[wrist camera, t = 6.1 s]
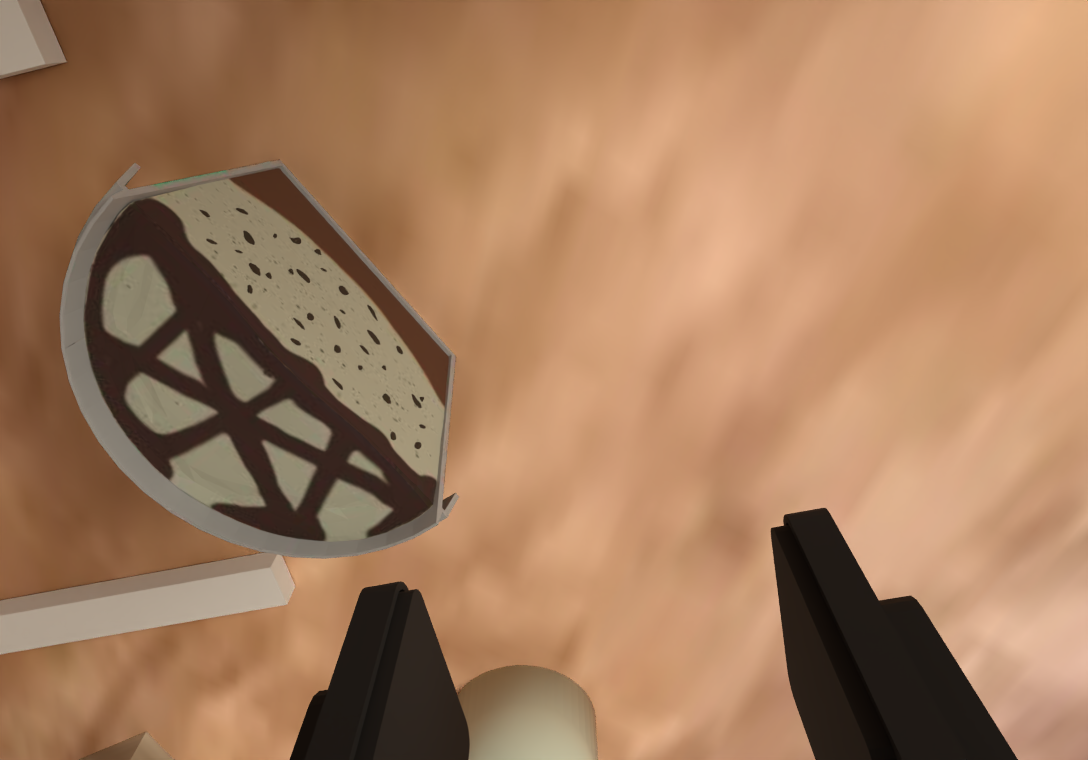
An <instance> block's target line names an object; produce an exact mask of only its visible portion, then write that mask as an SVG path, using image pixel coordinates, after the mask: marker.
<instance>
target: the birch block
mask: <svg viewBox="0 0 1088 760" xmlns="http://www.w3.org/2000/svg"><path fill="white" fill-rule="evenodd" d="M79 760H174V759H173V758H172V757H171V756H170V755H169V754H168V753H167V752H166V751H165V750H164V749H163V748H162V747H161V746H160V745H159V744H158V743H157V742H156V741H155V739H154V738H153V737H152V736H151V735H150V734H149V733H148V732H147V731H146V732H144V733H141V734H139V735H137V736H134V737H132V738H129V739H127V740H125V741H122V742H120V743H117V744H115V745H113V746H110V747H108V748H105V749H103V750H101V751H98V752H96V753H93V754H91V755H89V756H86V757H84V758H81V759H79Z"/></svg>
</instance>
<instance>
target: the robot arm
mask: <svg viewBox="0 0 1088 760" xmlns="http://www.w3.org/2000/svg"><path fill="white" fill-rule="evenodd" d="M783 522H784V526H780V527H774V528H771V539H772V547H773V556H774V564H775V572H776V580H777V588H778V596H779V605H780V613H781V621H782V629H783V637H784V645H785V654H786V662H787V670H788V676H789V681H790V686H791V690H792V693H793V697H794V700H795V703H796V706H797V708H798V711H799V714H800V717H801V720H802V723H803V725H804V728H805V731H806V734H807V737H808V739H809V742H810V745H811V748H812V751H813V753H814V756H815V759H816V760H1018V759H1017V757H1016V756H1015V754H1014V753H1013V751H1012V750H1011V748H1010V746H1009V745H1008V743H1007V742H1006V740H1005V738H1004V737H1003V735H1002V734H1001V732H1000V730H999V729H998V727H997V726H996V724H995V722H994V721H993V719H992V718H991V716H990V714H989V713H988V711H987V710H986V708H985V706H984V705H983V703H982V702H981V700H980V699H979V697H978V695H977V694H976V692H975V691H974V689H973V687H972V686H971V684H970V683H969V681H968V679H967V678H966V676H965V675H964V673H963V671H962V670H961V668H960V667H959V665H958V663H957V662H956V660H955V659H954V657H953V656H952V654H951V652H950V651H949V649H948V648H947V646H946V644H945V643H944V641H943V640H942V638H941V636H940V635H939V633H938V632H937V630H936V628H935V627H934V625H933V624H932V622H931V620H930V619H929V617H928V616H927V614H926V612H925V611H924V609H923V608H922V606H921V605H920V604H919V602H918V601H917V600H916V599H915V598H913V597H912V596H905V597H899V598H893V599H887V600H880V601H879V600H878V599H877V597H876V595H875V593H874V591H873V590H872V588H871V586H870V584H869V582H868V581H867V579H866V577H865V575H864V574H863V572H862V570H861V568H860V566H859V565H858V563H857V561H856V559H855V557H854V556H853V554H852V552H851V550H850V549H849V547H848V545H847V543H846V541H845V540H844V538H843V536H842V534H841V532H840V531H839V529H838V527H837V525H836V524H835V522H834V520H833V518H832V516H831V515H830V513H829V511H828V510H827V509H826V508H820V509H815V510H809V511H803V512H797V513H792V514H786V515H784V520H783ZM469 750H470V738H469V730H468V725H467V721H466V718H465V715H464V712H463V710H462V707H461V704H460V701H459V698H458V696H457V693H456V690H455V687H454V684H453V682H452V679H451V676H450V673H449V670H448V667H447V665H446V662H445V659H444V656H443V653H442V651H441V648H440V645H439V642H438V639H437V637H436V634H435V631H434V628H433V625H432V623H431V620H430V617H429V614H428V611H427V609H426V606H425V603H424V600H423V597H422V595H421V593H420V591H419V590H417V589H415V590H408V588H407V586H406V585H405V584H404V582H395V583H389V584H383V585H378V586H372V587H366V588H364V589H363V590H362V591H361V593H360V595H359V598H358V601H357V604H356V607H355V610H354V613H353V616H352V619H351V622H350V625H349V628H348V631H347V634H346V637H345V640H344V643H343V646H342V649H341V652H340V655H339V658H338V661H337V664H336V667H335V670H334V673H333V676H332V679H331V682H330V685H329V688H328V690H323V691H319V692H318V693H317V694H316V695H314V696H313V698H312V700H311V702H310V704H309V707H308V709H307V712H306V715H305V718H304V721H303V724H302V726H301V729H300V732H299V735H298V738H297V740H296V743H295V746H294V749H293V752H292V755H291V757H290V760H468V759H469Z"/></svg>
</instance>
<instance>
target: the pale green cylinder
mask: <svg viewBox="0 0 1088 760" xmlns="http://www.w3.org/2000/svg"><path fill="white" fill-rule="evenodd" d="M457 696H458V698H459V701H460V704H461V707H462V710H463V712H464V715H465V718H466V721H467V725H468V730H469V738H470V750H469V759H468V760H598V747H597V731H596V716H595V710H594V707H593V704H592V702H591V700H590V698H589V696H588V695H587V694H586V692H585V691H584V690H583V689H582V688H581V687H580V686H579V685H578V684H577V683H575V682H574V681H573V680H571V679H570V678H568V677H566V676H565V675H563V674H560V673H558V672H556V671H553V670H550V669H546V668H542V667H537V666H527V665H515V666H506V667H501V668H497V669H494V670H491V671H488V672H486V673H483V674H481V675H479V676H478V677H476V678H474V679H473V680H471V681H470V682H469V683H468V684H466V685H465V686H464V687H463V689H462V690H461V691H460V692H459V694H458V695H457Z"/></svg>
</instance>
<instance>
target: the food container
mask: <svg viewBox="0 0 1088 760" xmlns="http://www.w3.org/2000/svg"><path fill="white" fill-rule="evenodd" d="M140 168H141V167H140V166H139V165H137V164H136V163H134V164H133V165H132V166H131V167H130V168H129V169H128V170H127V171H126V172H125V173H124V174H123V175H122V176H121V177H120V178H119V179H118V181H117V182H116V183H115V184H114V185H113V186H112V187H111V189H110V190H109V191H108V192H107V193H106V194H105V196H104V197H103V198H102V199H101V200H100V202H99V203H98V204H97V205H96V206H95V208H94V210H93V211H92V213H91V215H90V217H89V218H88V220H87V222H86V224H85V226H84V227H83V229H82V231H81V233H80V234H79V236H78V239H77V242H76V245H75V248H74V251H73V254H72V257H71V260H70V263H69V266H68V269H67V273H66V277H65V280H64V284H63V292H62V300H61V308H60V331H61V349H62V353H63V357H64V362H65V366H66V370H67V375H68V379H69V382H70V385H71V388H72V390H73V393H74V395H75V398H76V400H77V403H78V405H79V408H80V410H81V412H82V414H83V416H84V418H85V419H86V421H87V423H88V424H89V426H90V428H91V430H92V431H93V433H94V435H95V436H96V438H97V440H98V442H99V443H100V444H101V445H102V447H103V448H104V449H105V451H106V452H107V453H108V454H109V456H110V457H111V458H112V459H113V461H114V462H115V463H116V465H117V466H118V467H119V468H120V469H121V470H122V471H123V472H124V473H125V474H126V475H127V476H128V477H129V478H130V479H131V480H132V481H133V482H134V483H135V484H136V485H137V486H138V487H139V488H140V489H141V490H142V491H143V492H144V493H146V494H147V495H148V496H150V497H151V498H152V499H153V500H155V501H156V502H157V503H159V504H160V505H161V506H163V507H164V508H165V509H167V510H168V511H169V512H171V513H172V514H174V515H176V516H177V517H179V518H181V519H183V520H184V521H186V522H188V523H189V524H191V525H193V526H195V527H196V528H198V529H200V530H202V531H204V532H207V533H209V534H211V535H214V536H216V537H218V538H221V539H223V540H225V541H228V542H230V543H233V544H237V545H240V546H243V547H247V548H250V549H253V550H257V551H260V552H265V553H271V554H277V555H283V556H289V557H300V558H337V557H348V556H357V555H362V554H366V553H370V552H375V551H379V550H383V549H387V548H390V547H392V546H395V545H398V544H400V543H403V542H405V541H408V540H411V539H413V538H415V537H417V536H419V535H421V534H423V533H424V532H426V531H428V530H430V529H431V528H433V527H435V526H437V525H438V524H439V522H440V521H442V520H444V519H445V518H447V517H448V515H449V514H450V512H451V510H452V508H453V506H454V505H455V503H456V501H457V499H458V498H459V496H458V495H457V494H456V493H454V494H453V495H451V496H449V497H447V498H446V499H444V500H443V491H444V481H445V470H446V459H447V448H448V437H449V427H450V416H451V405H452V394H453V383H454V373H455V362H456V356H455V355H454V354H453V353H452V352H451V350H450V349H449V348H448V347H447V346H446V345H445V344H444V343H443V342H442V340H441V339H440V338H439V337H438V336H437V335H436V334H435V333H434V331H433V330H432V329H431V328H430V327H429V326H428V325H427V324H426V323H425V321H424V320H423V319H422V318H421V317H420V316H419V315H418V314H417V312H416V311H415V310H414V309H413V308H412V307H411V306H410V305H409V304H408V302H407V301H406V300H405V299H404V298H403V297H402V296H401V295H400V293H399V292H398V291H397V290H396V289H395V288H394V287H393V286H392V285H391V283H390V282H389V281H388V280H387V279H386V278H385V277H384V276H383V274H382V273H381V272H380V271H379V270H378V269H377V268H376V267H375V266H374V264H373V263H372V262H371V261H370V260H369V259H368V258H367V257H366V255H365V254H364V253H363V252H362V251H361V250H360V249H359V248H358V247H357V245H356V244H355V243H354V242H353V241H352V240H351V239H350V238H349V236H348V235H347V234H346V233H345V232H344V231H343V230H342V229H341V227H340V226H339V225H338V224H337V223H336V222H335V221H334V220H333V219H332V217H331V216H330V215H329V214H328V213H327V212H326V211H325V210H324V208H323V207H322V206H321V205H320V204H319V203H318V202H317V201H316V200H315V198H314V197H313V196H312V195H311V194H310V193H309V192H308V191H307V189H306V188H305V187H304V186H303V185H302V184H301V183H300V182H299V181H298V179H297V178H296V177H295V176H294V175H293V174H292V173H291V172H290V170H289V169H288V168H287V167H286V166H285V165H284V164H283V163H282V162H281V160H275V161H270V162H265V163H260V164H254V165H249V166H244V167H239V168H234V169H229V170H224V171H219V172H214V173H209V174H204V175H199V176H194V177H189V178H184V179H179V180H174V181H169V182H164V183H159V184H154V185H149V186H144V187H139V188H134V189H128V188H127V187H126V186H125V185H126V184H127V183H128V182H129V181H130V180H131V178H132V177H133V176H134V175H135V174H136V172H137V171H138V170H139V169H140Z"/></svg>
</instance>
